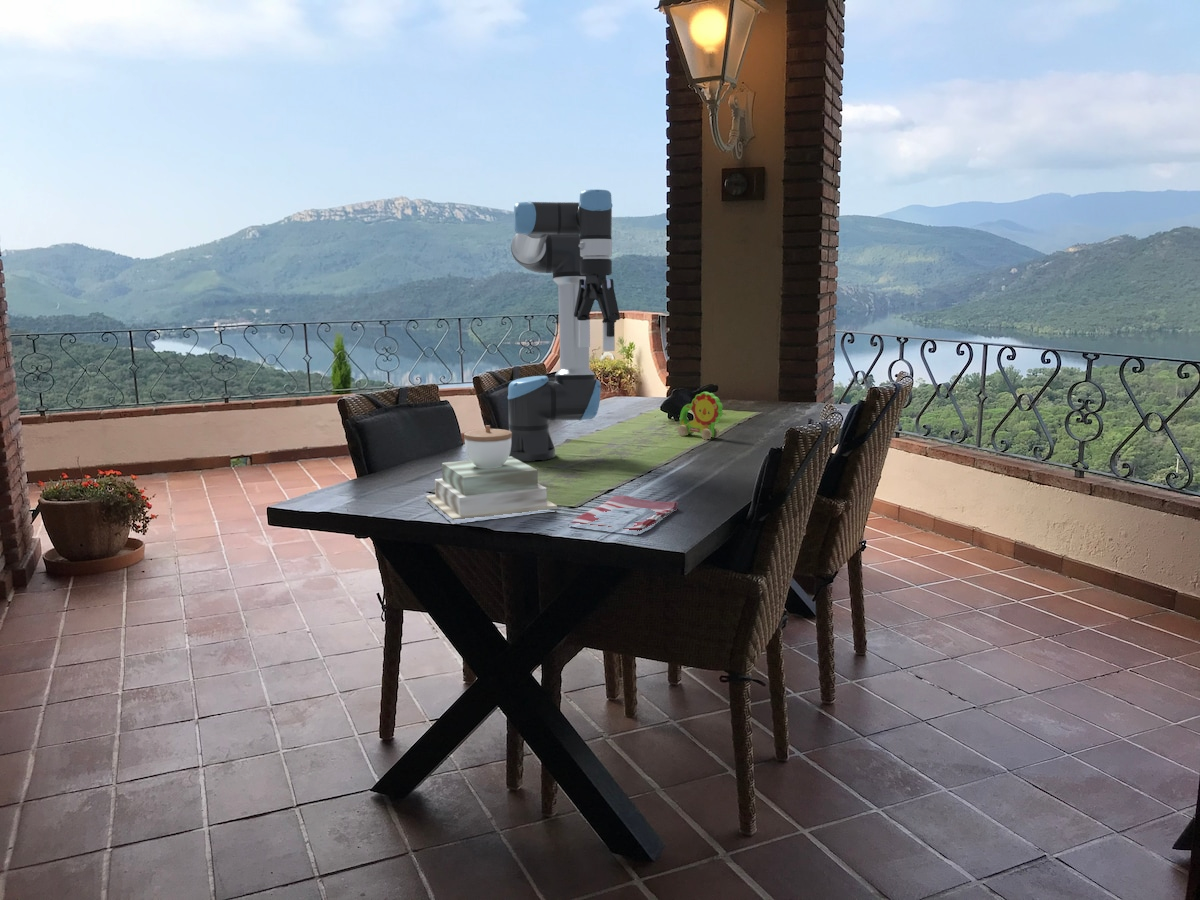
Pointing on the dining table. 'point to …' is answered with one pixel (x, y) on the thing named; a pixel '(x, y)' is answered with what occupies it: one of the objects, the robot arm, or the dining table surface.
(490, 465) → the lidded jar
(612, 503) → the dish towel
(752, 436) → the dining table surface
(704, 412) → the toy lion
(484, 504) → the brick tower
